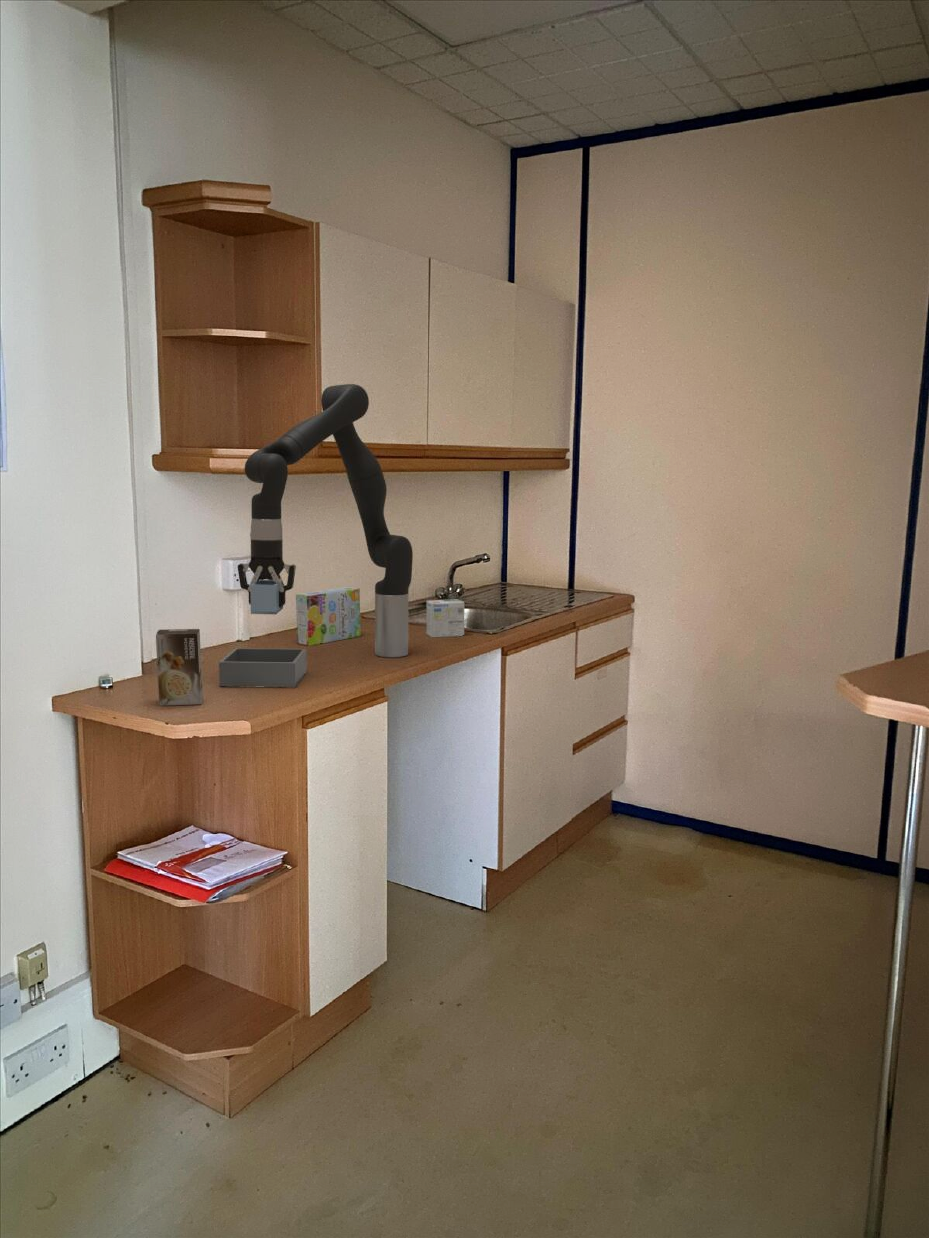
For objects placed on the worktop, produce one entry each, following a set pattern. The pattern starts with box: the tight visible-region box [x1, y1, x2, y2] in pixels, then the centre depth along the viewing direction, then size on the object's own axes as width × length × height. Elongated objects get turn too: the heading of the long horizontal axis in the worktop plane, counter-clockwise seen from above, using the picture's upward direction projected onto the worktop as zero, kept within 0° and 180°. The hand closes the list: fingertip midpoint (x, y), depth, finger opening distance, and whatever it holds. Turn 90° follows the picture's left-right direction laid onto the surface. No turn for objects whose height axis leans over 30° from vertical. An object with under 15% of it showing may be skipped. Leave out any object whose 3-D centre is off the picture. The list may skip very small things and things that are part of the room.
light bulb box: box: [425, 598, 465, 639], centre depth 301 cm, size 11×7×11 cm, turn 111°
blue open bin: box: [249, 579, 284, 615], centre depth 236 cm, size 10×6×7 cm, turn 1°
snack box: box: [295, 586, 362, 647], centre depth 290 cm, size 21×6×15 cm, turn 141°
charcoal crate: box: [218, 647, 308, 689], centre depth 239 cm, size 17×18×6 cm
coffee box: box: [155, 628, 204, 707], centre depth 216 cm, size 9×6×16 cm
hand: (267, 606), depth 237 cm, fingers closed on blue open bin, 6 cm apart
